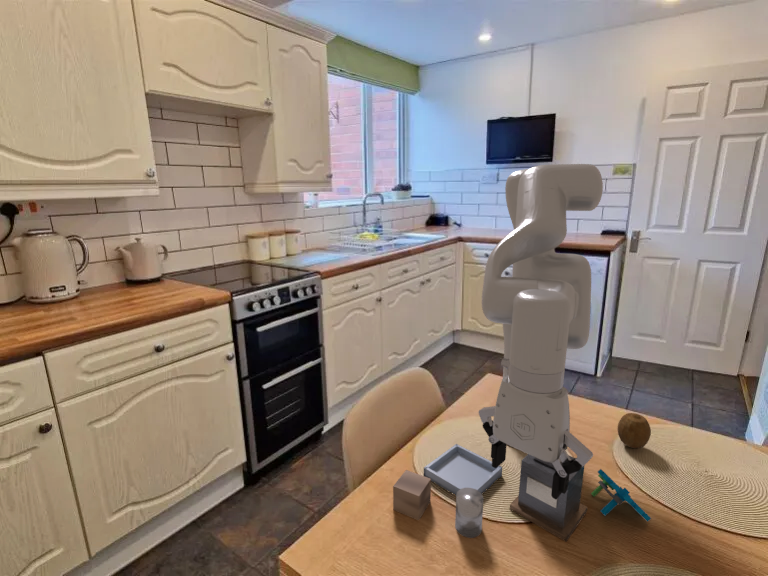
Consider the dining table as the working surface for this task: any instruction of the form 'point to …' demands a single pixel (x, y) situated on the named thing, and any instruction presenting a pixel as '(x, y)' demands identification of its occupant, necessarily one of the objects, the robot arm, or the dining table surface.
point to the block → (411, 494)
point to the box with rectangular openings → (549, 498)
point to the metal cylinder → (469, 512)
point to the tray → (462, 470)
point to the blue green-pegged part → (616, 495)
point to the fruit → (634, 430)
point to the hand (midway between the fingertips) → (526, 477)
